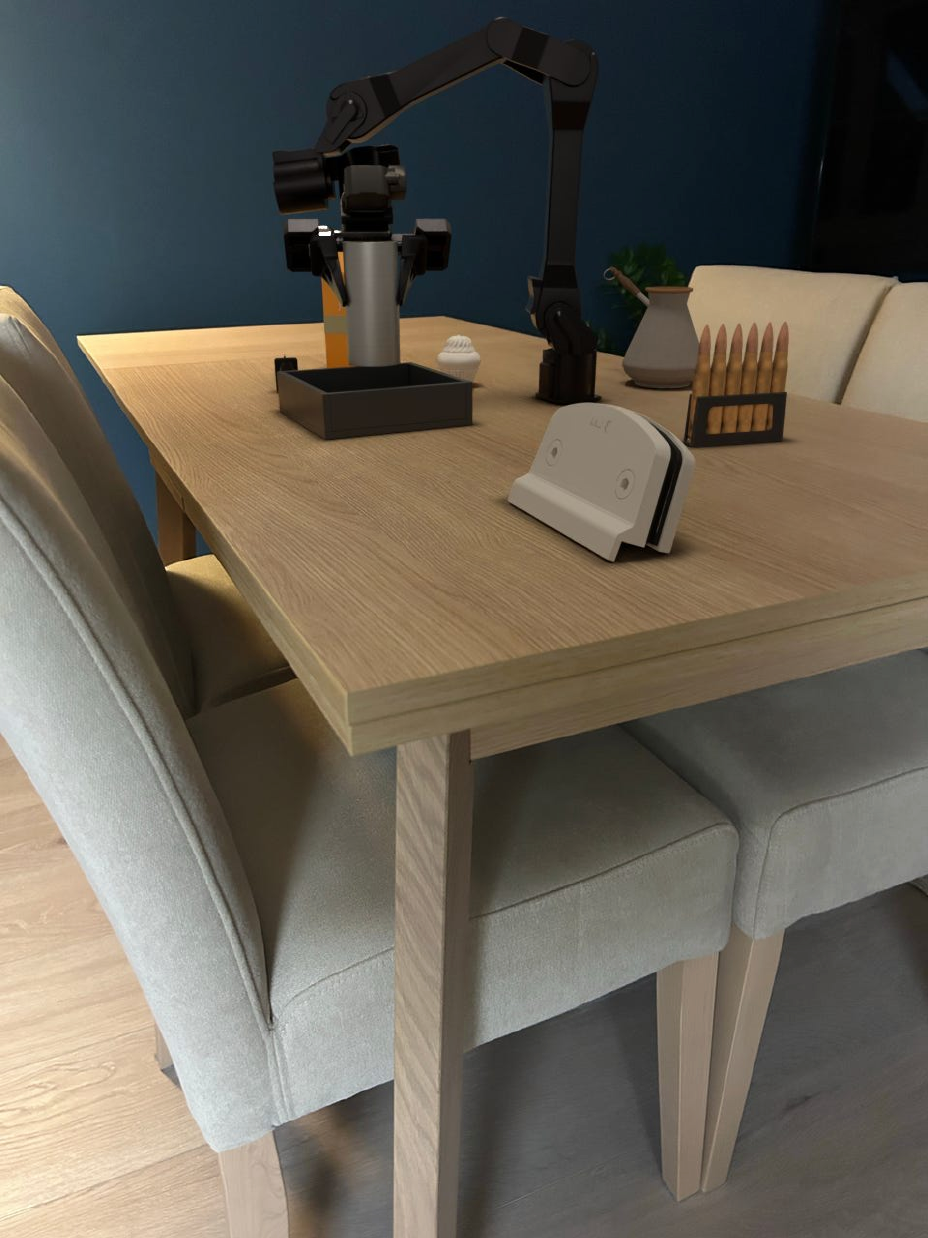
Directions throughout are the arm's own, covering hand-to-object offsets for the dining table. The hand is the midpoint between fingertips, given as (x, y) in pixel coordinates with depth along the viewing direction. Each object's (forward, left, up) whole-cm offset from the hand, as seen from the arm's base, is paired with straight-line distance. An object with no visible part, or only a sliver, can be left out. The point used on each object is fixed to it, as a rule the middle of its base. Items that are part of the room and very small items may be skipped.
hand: (372, 303), depth 104 cm
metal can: (0, -1, -7) cm, 7 cm away
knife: (+3, -27, -13) cm, 30 cm away
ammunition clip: (-30, +27, -13) cm, 42 cm away
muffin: (-19, -18, -13) cm, 29 cm away
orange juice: (-11, -37, -13) cm, 41 cm away
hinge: (-1, +45, -13) cm, 47 cm away
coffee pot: (-46, -11, -13) cm, 49 cm away
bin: (0, -2, -13) cm, 13 cm away
